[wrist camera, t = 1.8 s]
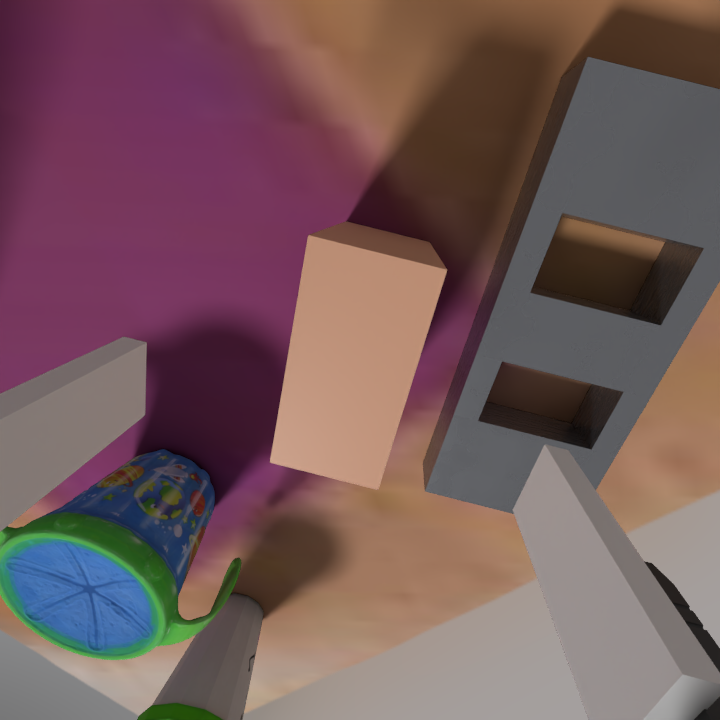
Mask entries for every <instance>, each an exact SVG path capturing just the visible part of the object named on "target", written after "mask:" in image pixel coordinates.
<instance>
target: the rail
mask: <svg viewBox="0 0 720 720" xmlns="http://www.w3.org/2000/svg"><path fill="white" fill-rule="evenodd" d="M561 216H563V217H567V218H571V219H575V220H579V221H583V222H587V223H591V224H595V225H599V226H603V227H607V228H611V229H615V230H619V231H623V232H627V233H631V234H635V235H639V236H643V237H647V238H651V239H655V240H659V241H663V242H665V244H664V246H663V248H662V250H661V252H660V254H659V256H658V258H657V260H656V262H655V264H654V266H653V268H652V269H651V271H650V273H649V275H648V277H647V279H646V281H645V283H644V285H643V287H642V289H641V291H640V293H639V295H638V297H637V298H636V300H635V302H634V304H633V306H632V308H631V310H626V309H622V308H618V307H614V306H610V305H606V304H602V303H598V302H594V301H590V300H586V299H582V298H578V297H574V296H570V295H566V294H562V293H558V292H554V291H550V290H546V289H542V288H538V287H534V286H533V284H534V282H535V279H536V277H537V274H538V272H539V269H540V267H541V264H542V262H543V260H544V257H545V255H546V252H547V250H548V247H549V245H550V242H551V240H552V237H553V235H554V232H555V230H556V228H557V225H558V223H559V220H560V218H561ZM719 281H720V89H717V88H713V87H709V86H705V85H701V84H696V83H692V82H688V81H684V80H680V79H676V78H672V77H668V76H664V75H660V74H656V73H652V72H648V71H644V70H640V69H635V68H631V67H627V66H623V65H619V64H615V63H611V62H607V61H603V60H599V59H595V58H591V57H587V58H586V59H584V60H583V61H582V62H581V63H579V64H578V65H577V66H575V67H574V68H573V69H572V70H570V71H569V72H568V73H566V74H565V75H564V76H563V77H561V80H560V83H559V86H558V88H557V91H556V94H555V97H554V99H553V102H552V105H551V108H550V111H549V113H548V116H547V119H546V122H545V125H544V127H543V130H542V133H541V136H540V138H539V141H538V144H537V147H536V150H535V152H534V155H533V158H532V161H531V163H530V166H529V169H528V172H527V175H526V177H525V180H524V183H523V186H522V189H521V191H520V194H519V197H518V200H517V202H516V205H515V208H514V211H513V214H512V216H511V219H510V222H509V225H508V228H507V230H506V233H505V236H504V239H503V241H502V244H501V247H500V250H499V253H498V255H497V258H496V261H495V264H494V266H493V269H492V272H491V275H490V278H489V280H488V283H487V286H486V289H485V292H484V294H483V297H482V300H481V303H480V305H479V308H478V311H477V314H476V317H475V319H474V322H473V325H472V328H471V331H470V333H469V336H468V339H467V342H466V344H465V347H464V350H463V353H462V356H461V358H460V361H459V364H458V367H457V370H456V372H455V375H454V378H453V381H452V383H451V386H450V389H449V392H448V395H447V397H446V400H445V403H444V406H443V408H442V411H441V414H440V417H439V420H438V422H437V425H436V428H435V431H434V434H433V436H432V439H431V442H430V445H429V447H428V450H427V453H426V456H425V459H424V461H423V472H424V485H425V491H426V492H430V493H434V494H438V495H442V496H445V497H449V498H453V499H457V500H461V501H465V502H469V503H473V504H477V505H481V506H485V507H489V508H493V509H497V510H501V511H504V512H508V513H512V514H514V512H513V508H514V506H515V504H516V502H517V500H518V498H519V496H520V494H521V492H522V490H523V488H524V486H525V484H526V482H527V480H528V477H529V475H530V473H531V471H532V469H533V467H534V465H535V463H536V461H537V459H538V457H539V455H540V453H541V451H542V449H543V447H544V445H545V444H546V445H550V446H554V447H558V448H562V449H566V450H568V451H569V452H570V453H571V455H572V456H573V458H574V459H575V461H576V462H577V464H578V465H579V467H580V468H581V470H582V471H583V473H584V474H585V475H586V477H587V478H588V480H589V481H590V483H591V484H592V486H593V487H594V489H595V490H596V489H597V487H598V485H599V484H600V482H601V480H602V478H603V477H604V475H605V473H606V472H607V470H608V468H609V467H610V465H611V463H612V462H613V460H614V458H615V457H616V455H617V453H618V452H619V450H620V448H621V446H622V445H623V443H624V441H625V440H626V438H627V436H628V435H629V433H630V431H631V430H632V428H633V426H634V425H635V423H636V421H637V419H638V418H639V416H640V414H641V413H642V411H643V409H644V408H645V406H646V404H647V403H648V401H649V399H650V398H651V396H652V394H653V393H654V391H655V389H656V387H657V386H658V384H659V382H660V381H661V379H662V377H663V376H664V374H665V372H666V371H667V369H668V367H669V366H670V364H671V362H672V361H673V359H674V357H675V355H676V354H677V352H678V350H679V349H680V347H681V345H682V344H683V342H684V340H685V339H686V337H687V335H688V334H689V332H690V330H691V329H692V327H693V325H694V323H695V322H696V320H697V318H698V317H699V315H700V313H701V312H702V310H703V308H704V307H705V305H706V303H707V302H708V300H709V298H710V297H711V295H712V293H713V291H714V290H715V288H716V286H717V285H718V283H719ZM502 361H503V362H507V363H511V364H515V365H519V366H523V367H527V368H531V369H535V370H539V371H543V372H547V373H551V374H554V375H558V376H562V377H566V378H570V379H574V380H578V381H582V382H586V383H590V384H592V385H591V387H590V389H589V391H588V393H587V395H586V397H585V399H584V401H583V403H582V405H581V406H580V408H579V410H578V412H577V414H576V416H575V418H574V420H573V422H572V423H568V422H564V421H560V420H556V419H552V418H548V417H544V416H540V415H536V414H532V413H528V412H524V411H520V410H516V409H513V408H509V407H505V406H501V405H497V404H493V403H489V402H486V400H487V397H488V395H489V392H490V390H491V388H492V385H493V383H494V380H495V378H496V375H497V373H498V370H499V368H500V365H501V363H502Z"/></svg>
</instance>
